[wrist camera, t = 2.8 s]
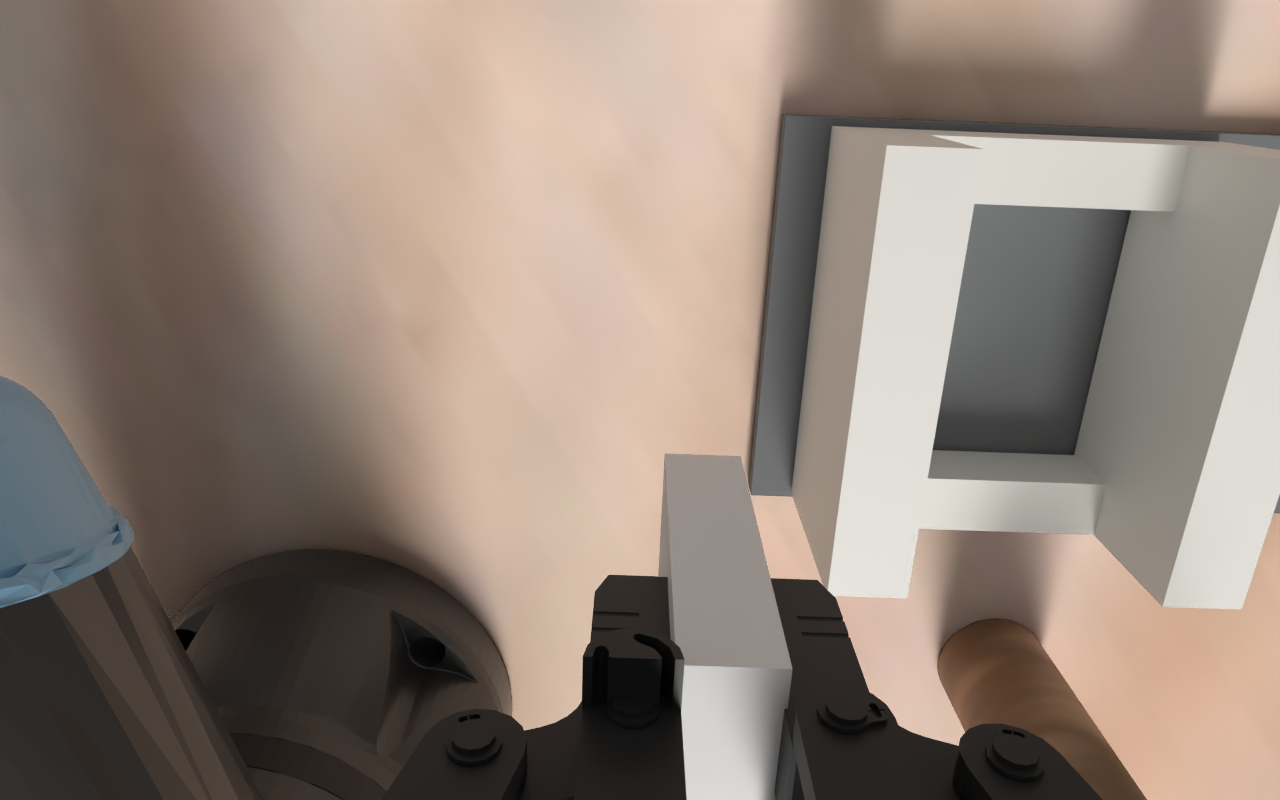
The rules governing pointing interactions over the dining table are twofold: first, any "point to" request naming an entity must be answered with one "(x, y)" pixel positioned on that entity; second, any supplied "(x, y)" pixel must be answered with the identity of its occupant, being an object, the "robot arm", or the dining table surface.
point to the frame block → (1122, 378)
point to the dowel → (1028, 699)
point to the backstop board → (959, 304)
